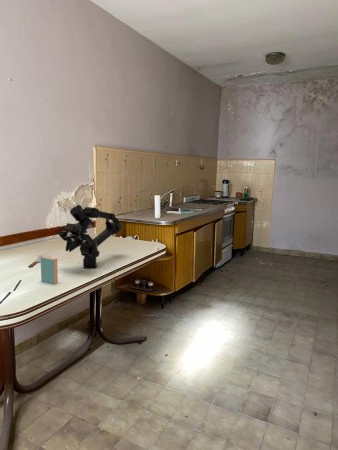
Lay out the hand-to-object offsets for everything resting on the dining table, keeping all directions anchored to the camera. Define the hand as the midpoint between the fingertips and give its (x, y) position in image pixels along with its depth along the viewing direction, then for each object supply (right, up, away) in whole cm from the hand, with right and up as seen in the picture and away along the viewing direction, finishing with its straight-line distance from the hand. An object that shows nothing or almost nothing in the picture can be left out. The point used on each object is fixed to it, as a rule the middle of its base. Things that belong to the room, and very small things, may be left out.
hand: (67, 251), depth 165 cm
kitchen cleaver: (-23, -9, +25) cm, 35 cm away
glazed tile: (-6, -14, -9) cm, 18 cm away
